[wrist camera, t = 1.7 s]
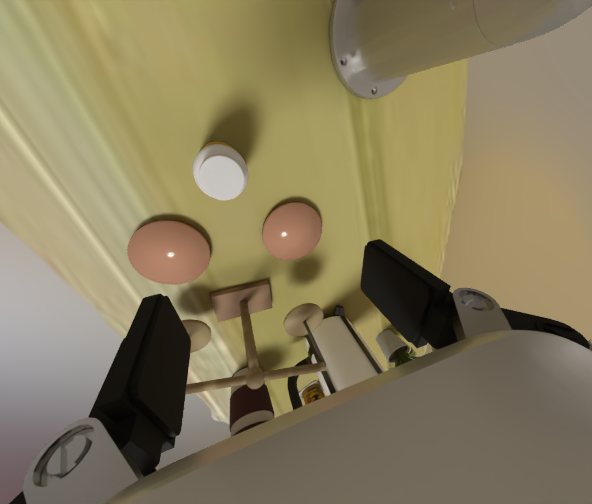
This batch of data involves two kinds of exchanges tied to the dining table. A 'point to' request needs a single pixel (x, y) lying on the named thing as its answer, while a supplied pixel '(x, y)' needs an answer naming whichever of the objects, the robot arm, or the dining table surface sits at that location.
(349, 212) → the dining table surface
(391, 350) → the house plant
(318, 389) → the condiment
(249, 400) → the coffee cup
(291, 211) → the pink disc
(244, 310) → the balance
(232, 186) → the supplement bottle
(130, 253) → the tan flat disc
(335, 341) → the coffee press
